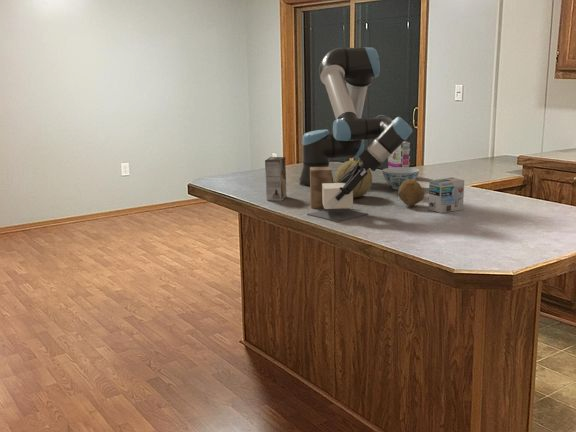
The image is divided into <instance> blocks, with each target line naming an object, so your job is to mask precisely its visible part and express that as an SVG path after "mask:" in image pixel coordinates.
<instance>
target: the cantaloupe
mask: <svg viewBox="0 0 576 432" xmlns="http://www.w3.org/2000/svg"><path fill="white" fill-rule="evenodd" d="M361 162H362V161H361V159H360V158H359V159H358V160H347V161H345V162H343V163H342V164H340V166H338V167H337V169H336V171H335V173H334V176H333V183H338V182H339V179H341V178H342V177H343V176H344V175H345V174H346V173H347V172H348V171H350V170H351V169H352V168H353V167H354V166H355V165H356V163H359V164H360V163H361ZM366 172H367V175H366V176H365V177H364V178H363V179H362V180H361V181H360V182H359V183H358V184H357V186H356V187H355V188H354V189H353V199H354V198H360V197H362V196H364V195H366V194H367V193H369V191H370V188H371V186H372V183H373V174H372V170H371V169H370V168H369V169H368V170H367V171H366Z"/></svg>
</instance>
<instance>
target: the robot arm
mask: <svg viewBox="0 0 576 432" xmlns="http://www.w3.org/2000/svg"><path fill="white" fill-rule="evenodd" d="M378 53H379V52H378V51H377V50H376V49H375V48H374V47H366V46H364V47H337V48H334V49H331V50H330V51H328V52H327V53H326V54H325V55H324V56H323V57H322V59H321V61H320V64H319V66H318V67H319V68H318V74H319V78H320V79H319V80H320V81H321V83H322V84H324V86H325V89H326V93H327V94H328V99H329V102H330V104H331V109H332V111H333V114H334V118H335V120H334V121H333V123H332V132H330V131H329V129H317V130H312V131H308V132H305V133H304V134H303V136H302V170H301V173H300V177H299V184H300V185H302V186H308V187H310V167H330V160H336V159H341V160H342V159H353V158H355V159H356V158H359V159H360V162H361V163H360V164H359V163H356V165H355V166H354V167H353V168H352V169H351V170H350V171H348V172H347V173H346V174H345V175H344V176H343V177H342V178H341V179H339V182H338V183H346V184H345V185H344V186H343V188H342V187H340V188H339V189H340V190H339V191H338V192H337V193H336V194H335V195H334V196H333V197H332V198H331V199H330V200H329V201H328V202H327V204H328V205H329V206H330V207H331V208H332V209H333V208H334V207H335V206H336V205H337V204H338V203H339V202H340V201H341V200H342V199H343V198H344V196H345V195H347V194H350V192H351V191H352V190H353V189H354V188H355V187H356V186H357V184H358V183H359V182H360V181H361V180H362V179H363V178H364V177H365V176H366V175H367V172H366V171H367V170H368V169H370V171H371V172H376V170H377V169H379V167H380V166H381V165H382V164H381V163H385V161H386V160H388V159H389V156H390V155H391V154H392V153H393V152H394V151H395V150H396V149H397V148H398V147H399V146H400V145H401V144H402V143H403V142H406V141H407V140H408V138H409V137H410V135H411V134H412V133H413V128H412V127H411V126H410V124H408V123H407V122H406V121H405V120H404V119H403V118H402V117H400V116H397V117H395V118H394V119H392V118H391V117H389V116H387V115H383V114H379V115H376V116H375V117H367V118H364V117H363V118H362V116H363V111H364V104H365V101H366V95H367V91H368V87H369V86H370V85H371V84H372V83H373V79H375V78H378V77H379V76H380V71H381V67H380V66H381V65H380V64H381V62H380V58H379V54H378ZM365 140H366V141H367V140H368V141H369V140H372V141H371V142H370V143H369V145H367V149H364V148H365ZM332 183H334V176H333V175H332Z"/></svg>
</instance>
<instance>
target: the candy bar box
mask: <svg viewBox="0 0 576 432" xmlns="http://www.w3.org/2000/svg"><path fill="white" fill-rule="evenodd" d="M410 159H411V142H409V141H404V142H403V143H402V144H401V145H400V146H399V147H398V148H397V149H396V150H395V151H394V152H393V153H392V154H391V155H390V156H389V159H387V168H393V167H408V168H411V165H410V164H411V161H410Z"/></svg>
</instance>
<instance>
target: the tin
mask: <svg viewBox="0 0 576 432" xmlns="http://www.w3.org/2000/svg"><path fill="white" fill-rule="evenodd" d="M332 171H333V170H332V167H331V166H329V167H310V186H309V187H310V188H309V190H310V191H309V192H310V195H309V196H310V201H309V202H310V208H311V209H324V206H323V203H322V183H332V176H333V174H332V173H333V172H332Z"/></svg>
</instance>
